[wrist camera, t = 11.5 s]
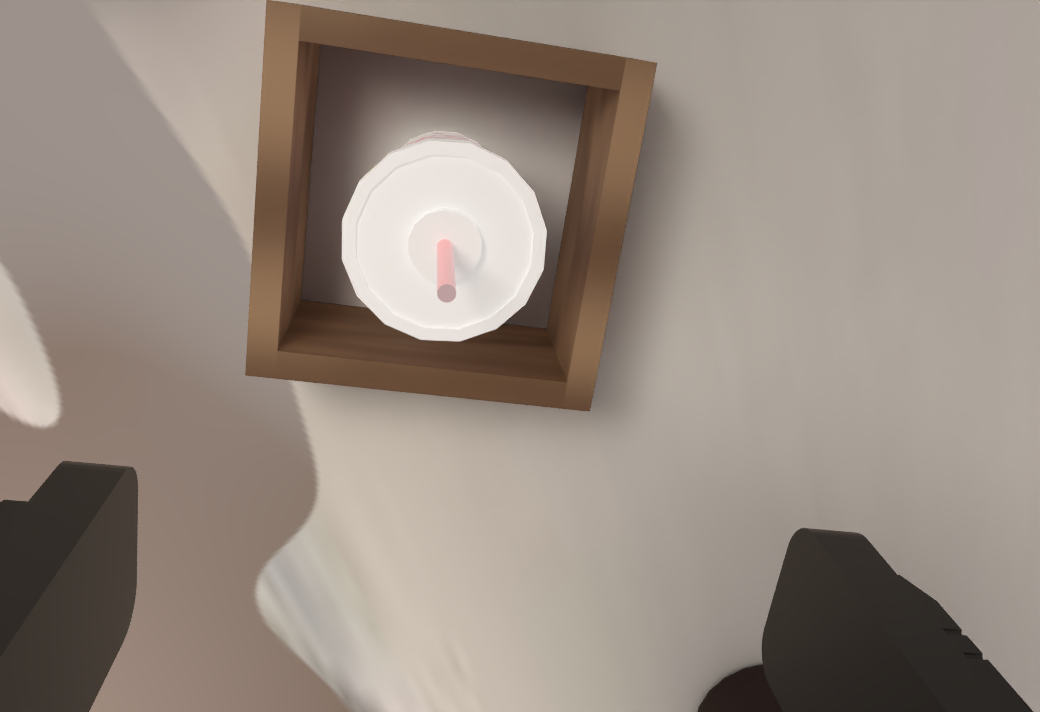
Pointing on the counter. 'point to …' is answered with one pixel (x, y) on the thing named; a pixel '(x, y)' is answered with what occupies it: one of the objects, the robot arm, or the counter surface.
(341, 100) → the counter surface
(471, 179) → the beverage cup
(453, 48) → the wooden square frame
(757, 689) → the bottle
